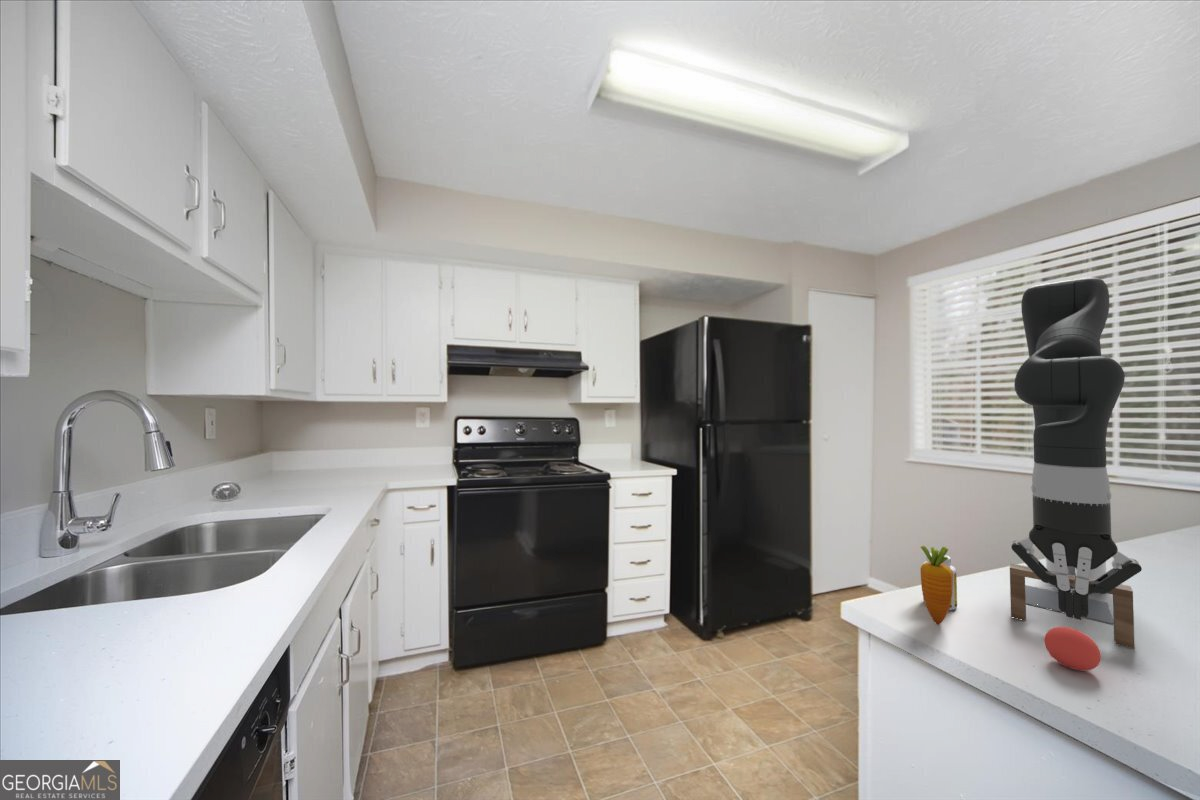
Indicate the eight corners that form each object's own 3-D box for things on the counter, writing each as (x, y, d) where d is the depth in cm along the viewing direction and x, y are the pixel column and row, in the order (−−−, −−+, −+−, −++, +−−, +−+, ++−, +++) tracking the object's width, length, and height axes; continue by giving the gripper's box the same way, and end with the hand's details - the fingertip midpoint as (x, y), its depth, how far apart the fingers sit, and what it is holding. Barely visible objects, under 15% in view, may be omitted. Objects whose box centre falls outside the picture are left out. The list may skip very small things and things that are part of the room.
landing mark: (1025, 585, 96) (1025, 585, 96) (1107, 603, 87) (1107, 602, 87) (1023, 603, 88) (1023, 602, 88) (1114, 624, 79) (1114, 623, 79)
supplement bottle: (940, 598, 91) (938, 550, 91) (964, 610, 85) (963, 559, 85) (916, 599, 90) (915, 551, 90) (939, 612, 85) (938, 561, 85)
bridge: (1011, 612, 84) (1010, 563, 84) (1132, 641, 73) (1130, 585, 74) (1010, 617, 82) (1009, 567, 82) (1134, 648, 71) (1132, 591, 71)
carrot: (915, 620, 82) (913, 543, 82) (932, 615, 83) (930, 539, 84) (943, 633, 77) (941, 551, 77) (961, 628, 79) (959, 547, 79)
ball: (1044, 651, 71) (1043, 615, 71) (1099, 667, 67) (1098, 629, 67) (1044, 667, 67) (1043, 629, 67) (1103, 685, 63) (1102, 644, 63)
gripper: (1139, 498, 59) (1143, 624, 58) (1007, 486, 68) (1010, 593, 68) (1148, 507, 54) (1153, 645, 53) (1004, 493, 63) (1007, 609, 63)
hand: (1072, 616), depth 61 cm, fingers closed
